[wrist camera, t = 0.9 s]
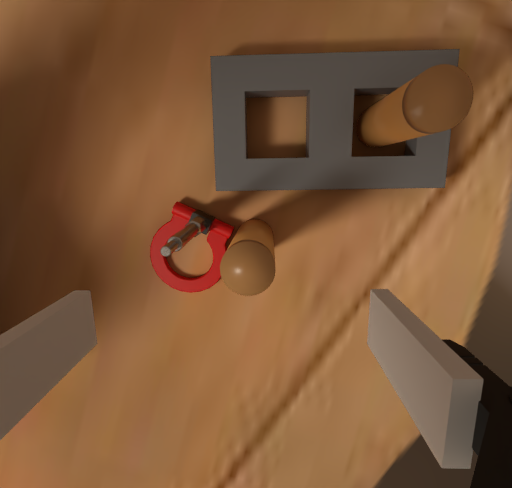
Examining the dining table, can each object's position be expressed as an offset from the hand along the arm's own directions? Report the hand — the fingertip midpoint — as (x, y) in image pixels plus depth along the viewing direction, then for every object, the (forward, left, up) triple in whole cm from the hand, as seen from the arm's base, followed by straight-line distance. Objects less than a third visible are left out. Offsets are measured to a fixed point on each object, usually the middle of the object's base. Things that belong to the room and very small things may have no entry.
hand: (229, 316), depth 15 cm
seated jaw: (+13, +11, -20) cm, 26 cm away
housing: (+8, +11, -20) cm, 24 cm away
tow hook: (-7, -2, -21) cm, 22 cm away
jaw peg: (0, 0, -20) cm, 20 cm away
